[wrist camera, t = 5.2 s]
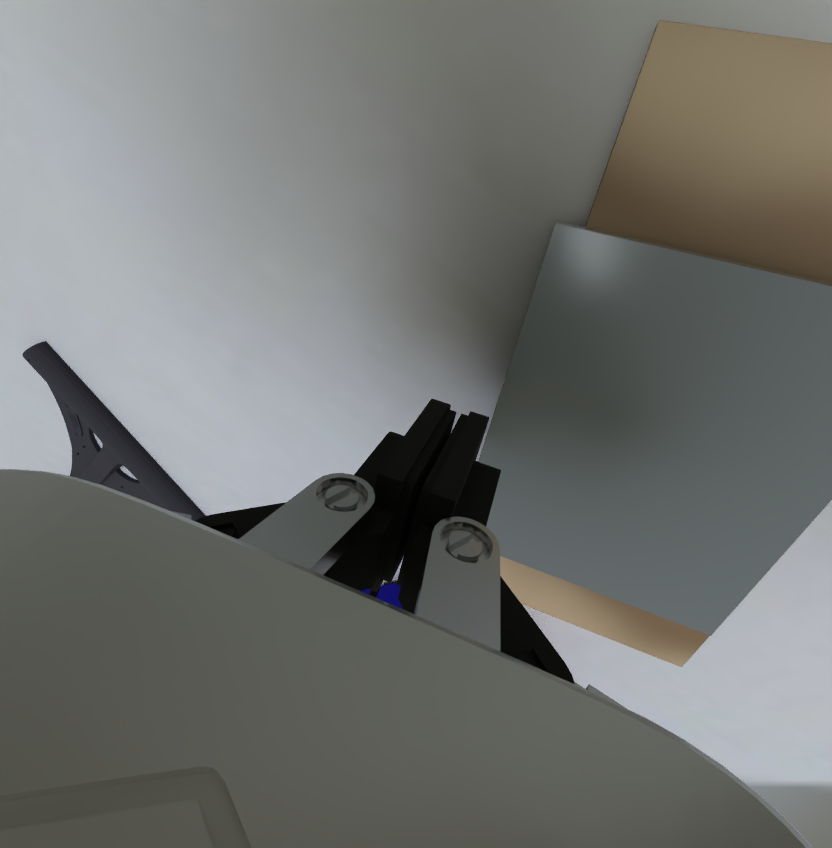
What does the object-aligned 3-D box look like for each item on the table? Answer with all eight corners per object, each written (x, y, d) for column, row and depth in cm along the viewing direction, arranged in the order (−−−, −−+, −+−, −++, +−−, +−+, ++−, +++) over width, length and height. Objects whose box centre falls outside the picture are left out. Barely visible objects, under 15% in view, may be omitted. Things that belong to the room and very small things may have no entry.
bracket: (-7, 443, 33) (-52, 462, 30) (56, 337, 25) (3, 352, 23) (129, 577, 36) (98, 604, 33) (222, 517, 28) (190, 546, 26)
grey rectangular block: (555, 223, 12) (988, 322, 10) (557, 220, 14) (911, 300, 12) (453, 538, 18) (710, 635, 16) (467, 500, 20) (693, 582, 18)
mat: (656, 25, 12) (659, 20, 11) (1169, 96, 10) (1191, 92, 9) (461, 573, 23) (459, 579, 22) (680, 659, 21) (681, 667, 20)
